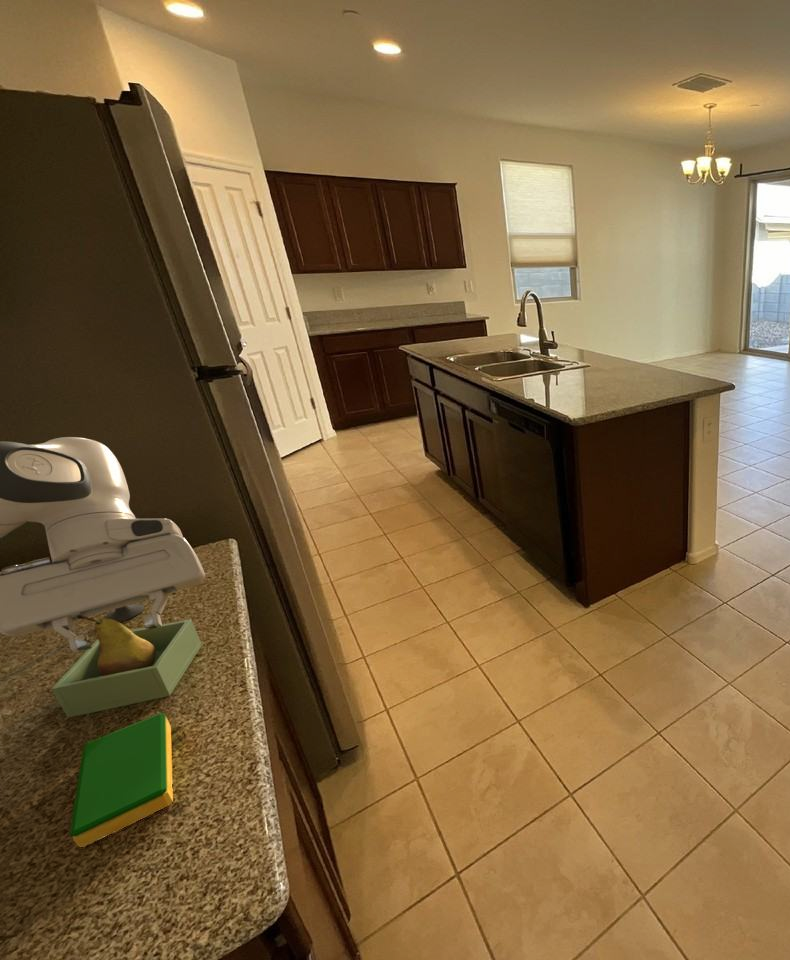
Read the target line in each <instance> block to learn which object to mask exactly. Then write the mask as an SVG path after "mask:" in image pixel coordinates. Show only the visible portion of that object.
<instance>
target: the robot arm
mask: <svg viewBox="0 0 790 960" xmlns="http://www.w3.org/2000/svg"><path fill="white" fill-rule="evenodd" d="M110 449H111V448H109V447H108V446H106V445H105V444H104V443H102V442H99V441H97V440H95V439H89V438H85V437H76V436H65V437H57V438H53V439H49V440H47V441H45V442H42V443H36V444H27V443H21V442H15V441H0V541H1V540H2V539H3V538H5V537H6V536H7V535H8V534H9V533H11V532H12V531H14V530H16V529H17V528H19V527H21V526H22V525H24V524H25V523H27V522H29V523H40V524H42V525H43V526H44V528H45V535H46V539H47V545H48V550H49V554H50V556H47V557H44V558H39V559H34V560H32V561H28V562H25V563H21V564H13V565H9V566H6V567H4V568H2V569H1V571H0V634H2V635H5V636H8V637H12V638H20V637H23V636H27V635H31V634H34V633H37V632H41V631H44V630H48V629H52V630H54V631H55V632H56V633H58V634H60V635H61V636H62V637H64V638H66V640H68V644H69V648H70V650H71V652H73V653H74V654H78V653H81V652H84V651H87V650H88V649H91V648H92V643H91V636H90V635H87V634H86V633H81V634H78V635H76V634H75V633H74V632H72V631H71V630H74V629H75V628H76V625H75V621H79V620H80V619H78V618H77V617H78V616H79V615H82V616H86V617H89V618H90V617H93V616H96V615H99V614H103V613H106V612H109V611H110V612H111V611H114V610H116V609H117V608H120V607H124V606H127V605H133V604H139V603H140V602H144V601H148V600H149V601H150V602H151V603H152V607H151V610H150V611H149V613H147V614H143V615H141V617H142V621H143V626H144V628H146V629H147V630H150V629H154V628H157V627H160V626H162V624H163V623H162V619H161V615H162V613H163V611H164V610H165V609H164V608H165V607H166V605H167V602H168V599H167V595H169V594H172V593H176V592H179V591H183V590H185V589H189V588H192V587H196V586H199V585H201V584H202V583H203V581H204V580H205V579H206V573H205V570H204V568H203V565H202V563H201V561H200V558H199V557H198V554H196V552H195V550H194V549H193V547H192V546H191V544H190V543H189V542H188V541H187V539H186V538H185V537H184V536H183V532H182V531H181V528H180V527H179V526H178V525H177V524H176V523H175V522H174V521H172V520H171V519H170V518H137V517H136V516H135V514H134V513H133V512H132V509H131V508H130V498H131V495H130V490H129V486H128V483H127V479H126V476H125V473H124V470H123V468H122V466H121V464H120V462H119V460H118V458H117V457H116V456H115V454H114V453H113V451H112V450H110Z"/></svg>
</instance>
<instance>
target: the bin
mask: <svg viewBox="0 0 790 960" xmlns="http://www.w3.org/2000/svg"><path fill="white" fill-rule="evenodd" d="M129 630H130V631H132V632H133V633H134V634H135V635H136V636H138V637H140V638H142V639H145V640H147V641H148V642H150V643H151V644H152V645H153V646H154V647H155V650H156V657H155V660H154V663H153V665H152V666H151V667H146V668H141V669H136V670H131V671H126V672H121V673H116V674H111V675H106V676H101V674H100V673H99V671H98V667H97V664H98V659H99V656H100V644H99V640H98V638H97V639H96V640H95V641H94V642H93V643H92V644H91V646H92V648H91V649H87V650H85V652H84V653H83V654H82V655H81V656H80V658H78V659H77V661H76V662H75V663H74V664H73V665H72V666H71V667H70V668H69V669H68V670H67V671H66V672H65V673H64V675H63V676H62V677H60V679H59V680H58V681H57V682H56V683H55V684H54V685H53V686H52V687H51V692H52V693H53V695H54V697H55V698H56V700H57V702H58V704H59V705H60V707H61V709H62V710H63V712H64V714H65V716H66V717H67V718H68V719H70V718H74V717H79V716H84V715H88V714H93V713H96V712H102V711H105V710H110V709H115V708H120V707H126V706H130V705H133V704H139V703H143V702H147V701H152V700H157V699H162V698H166V697H170V696H171V695H172V693H173V692H174V691H175V689H176V687H177V685H178V684H179V682H180V680H181V679H182V677H183V676H184V674H185V672H186V671H187V670H188V668H189V666H190V665H191V663H192V662H193V661H194V659H195V657H196V656H197V654H198V653H199V650H200V649H201V647H202V646H203V644H202V642H201V639H200V637H199V634H198V632H197V629H196V627H195V625H194V623H193V620H192V618H189V619H184V620H178V621H174V622H168V623H162V626H160V627H157V628H154V629H150V630H147V629H146V628H145V627H141V628H135V629H129Z"/></svg>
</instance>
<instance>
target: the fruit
mask: <svg viewBox="0 0 790 960" xmlns="http://www.w3.org/2000/svg"><path fill="white" fill-rule="evenodd" d="M77 618H78V619H79V620H86V621H91V622H92V623H95V624H94V626H95V630H96V637H97V639H98V640H99V644H100V656H99V659H98V664H97V667H98V671H99V673H100V674H101V676H106V675H111V674H116V673H121V672H126V671H131V670H136V669H141V668H146V667H151V666H152V665H153V663H154V660H155V657H156V650H155V647H154V646H153V645H152V644H151V643H150V642H148V641H147V640H145V639H142V638H140V637H138V636H136V635H135V634H134V633H133V632H132V631H130V630H131V629H130V628H128V627H127V626H125V625H124V624H122V622H117V621H115V620H113V619H105V618H100V619H94V618H90V616H89V617H86V616H82V615H79V616H78V617H77Z"/></svg>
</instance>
